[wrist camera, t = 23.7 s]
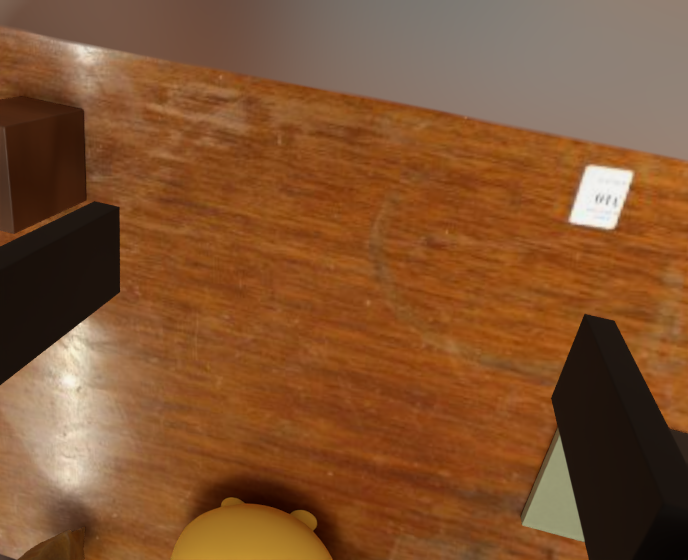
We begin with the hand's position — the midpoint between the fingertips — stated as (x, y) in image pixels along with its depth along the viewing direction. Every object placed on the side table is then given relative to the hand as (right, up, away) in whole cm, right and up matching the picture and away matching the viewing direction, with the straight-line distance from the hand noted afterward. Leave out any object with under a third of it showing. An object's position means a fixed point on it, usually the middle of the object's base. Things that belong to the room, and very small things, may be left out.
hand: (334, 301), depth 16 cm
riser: (-22, +10, +27) cm, 36 cm away
